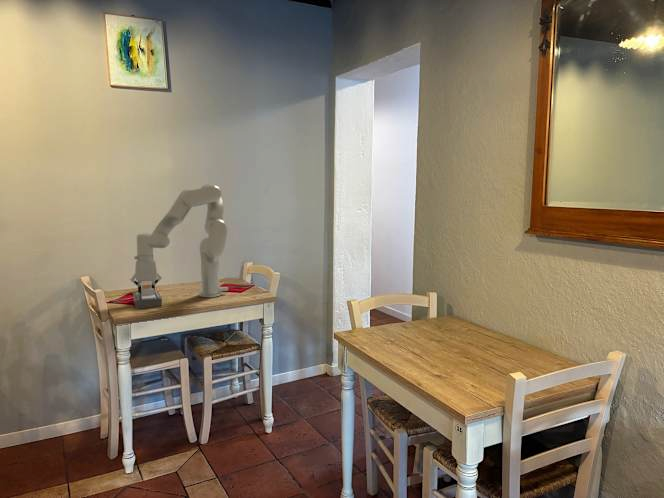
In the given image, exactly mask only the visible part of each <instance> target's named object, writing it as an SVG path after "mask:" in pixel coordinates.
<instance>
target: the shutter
mask: <svg viewBox="0 0 664 498" xmlns="http://www.w3.org/2000/svg"><path fill="white" fill-rule="evenodd" d="M141 299H142V300H147V299H156V296H155V294H154V288H152V289H142V288H141Z"/></svg>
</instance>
